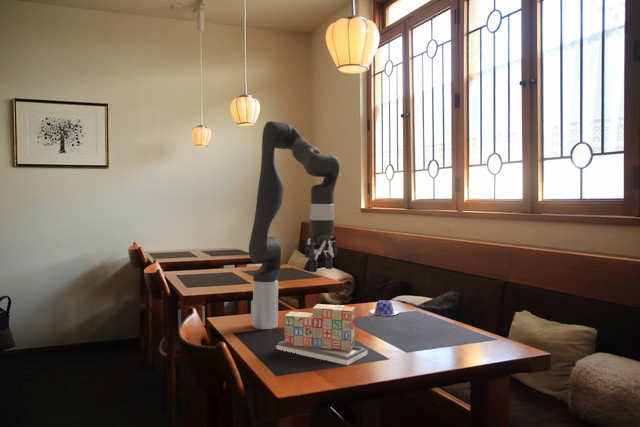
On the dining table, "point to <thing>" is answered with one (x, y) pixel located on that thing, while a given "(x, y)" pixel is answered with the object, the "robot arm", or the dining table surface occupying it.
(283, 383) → the dining table surface
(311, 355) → the base board
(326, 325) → the stack of blocks
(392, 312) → the blue checkered hat
